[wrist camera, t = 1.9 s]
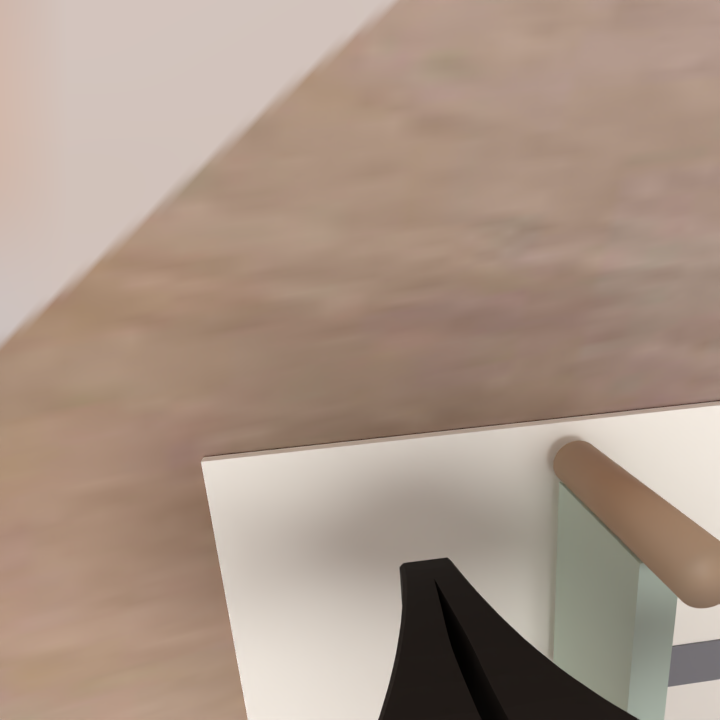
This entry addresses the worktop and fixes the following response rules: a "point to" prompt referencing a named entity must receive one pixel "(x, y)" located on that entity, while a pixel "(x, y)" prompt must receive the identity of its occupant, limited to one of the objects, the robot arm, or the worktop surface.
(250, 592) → the card
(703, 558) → the panel
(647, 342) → the worktop surface
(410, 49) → the worktop surface
